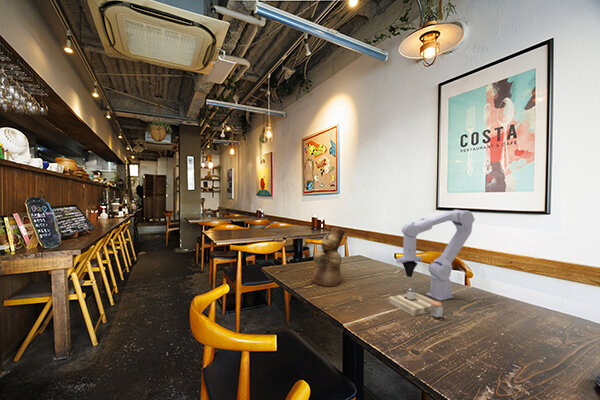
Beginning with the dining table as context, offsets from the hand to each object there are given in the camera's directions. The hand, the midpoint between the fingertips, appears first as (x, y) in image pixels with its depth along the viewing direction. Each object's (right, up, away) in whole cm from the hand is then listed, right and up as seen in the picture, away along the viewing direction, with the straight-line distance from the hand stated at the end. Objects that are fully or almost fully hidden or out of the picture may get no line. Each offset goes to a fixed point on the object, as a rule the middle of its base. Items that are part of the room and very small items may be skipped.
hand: (409, 276), depth 122 cm
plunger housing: (+1, -10, -22) cm, 24 cm away
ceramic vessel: (-36, -9, +20) cm, 42 cm away
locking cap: (+1, -8, -22) cm, 23 cm away
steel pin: (-4, -10, -10) cm, 14 cm away
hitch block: (-3, -10, -12) cm, 15 cm away
